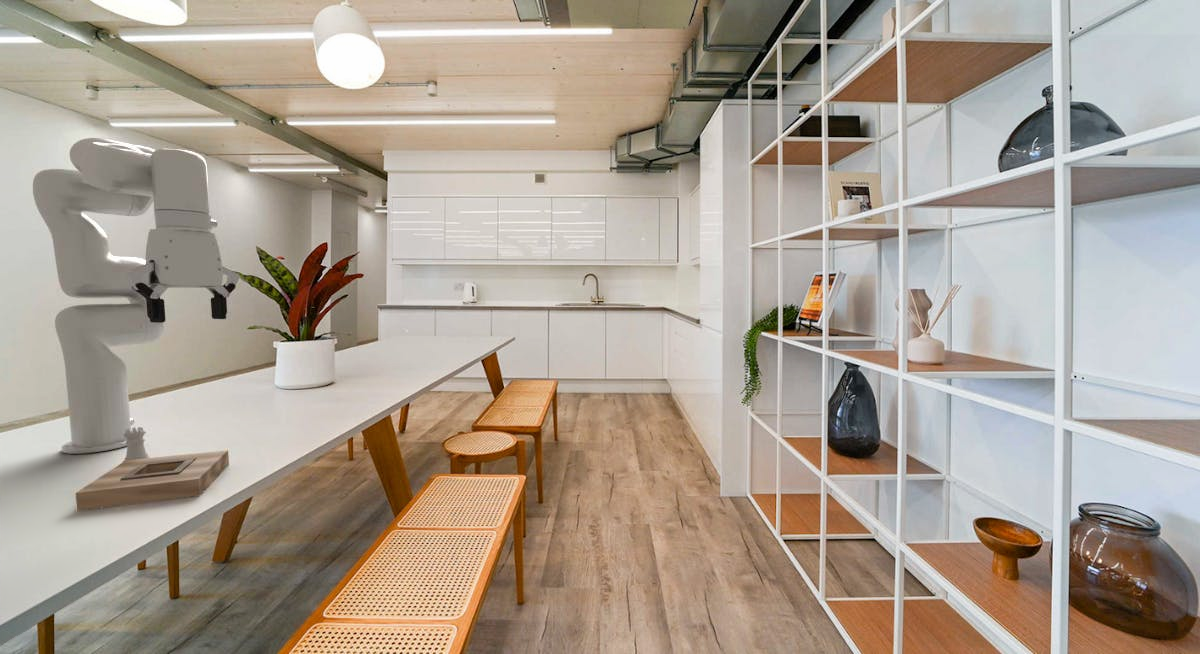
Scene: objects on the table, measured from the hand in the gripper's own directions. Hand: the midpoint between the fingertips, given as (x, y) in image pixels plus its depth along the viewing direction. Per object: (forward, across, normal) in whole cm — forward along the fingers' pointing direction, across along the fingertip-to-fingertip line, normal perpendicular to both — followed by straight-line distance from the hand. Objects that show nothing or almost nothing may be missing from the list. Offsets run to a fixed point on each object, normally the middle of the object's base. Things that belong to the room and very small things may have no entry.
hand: (189, 320), depth 90 cm
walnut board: (+30, +4, -5) cm, 30 cm away
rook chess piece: (+30, +1, -19) cm, 35 cm away
